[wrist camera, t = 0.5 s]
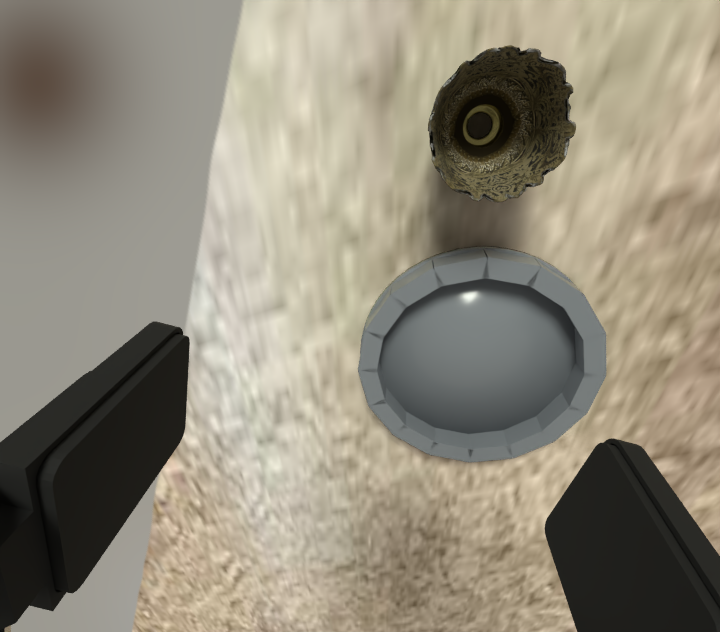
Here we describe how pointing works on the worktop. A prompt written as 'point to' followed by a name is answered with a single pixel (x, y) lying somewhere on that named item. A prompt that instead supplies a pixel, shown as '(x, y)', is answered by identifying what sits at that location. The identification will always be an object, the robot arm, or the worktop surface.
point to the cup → (502, 123)
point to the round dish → (481, 354)
